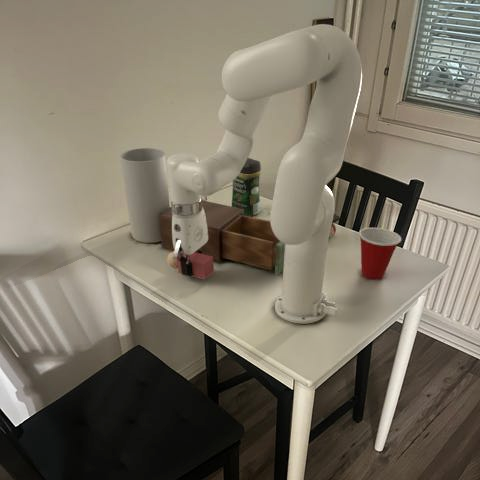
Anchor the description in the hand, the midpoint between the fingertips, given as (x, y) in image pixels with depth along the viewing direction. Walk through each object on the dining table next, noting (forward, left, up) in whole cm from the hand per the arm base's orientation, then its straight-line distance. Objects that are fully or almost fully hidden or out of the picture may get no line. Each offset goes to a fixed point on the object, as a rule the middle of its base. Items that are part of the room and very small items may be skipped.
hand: (192, 270), depth 130 cm
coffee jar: (+8, -45, -3) cm, 46 cm away
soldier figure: (+21, -38, -3) cm, 43 cm away
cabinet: (+8, -18, -3) cm, 19 cm away
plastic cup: (-42, -25, -3) cm, 49 cm away
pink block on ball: (+1, 0, 0) cm, 1 cm away
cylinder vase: (+26, -16, -3) cm, 30 cm away
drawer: (-14, -18, -2) cm, 22 cm away
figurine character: (-21, -36, -3) cm, 42 cm away
